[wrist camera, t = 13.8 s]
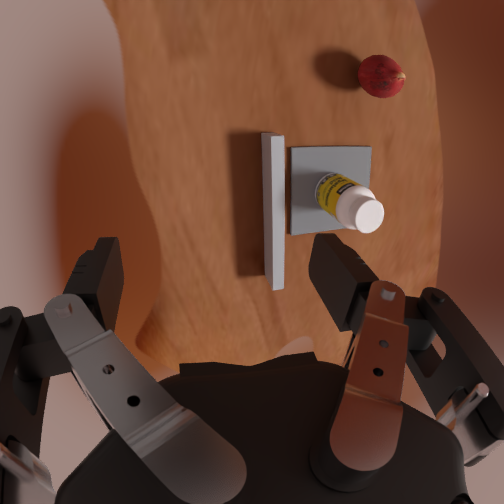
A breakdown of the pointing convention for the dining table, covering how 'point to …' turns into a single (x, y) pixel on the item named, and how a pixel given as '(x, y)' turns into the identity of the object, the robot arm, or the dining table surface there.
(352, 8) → the dining table surface
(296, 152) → the slate mat
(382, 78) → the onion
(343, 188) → the supplement bottle
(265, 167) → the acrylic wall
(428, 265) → the dining table surface
